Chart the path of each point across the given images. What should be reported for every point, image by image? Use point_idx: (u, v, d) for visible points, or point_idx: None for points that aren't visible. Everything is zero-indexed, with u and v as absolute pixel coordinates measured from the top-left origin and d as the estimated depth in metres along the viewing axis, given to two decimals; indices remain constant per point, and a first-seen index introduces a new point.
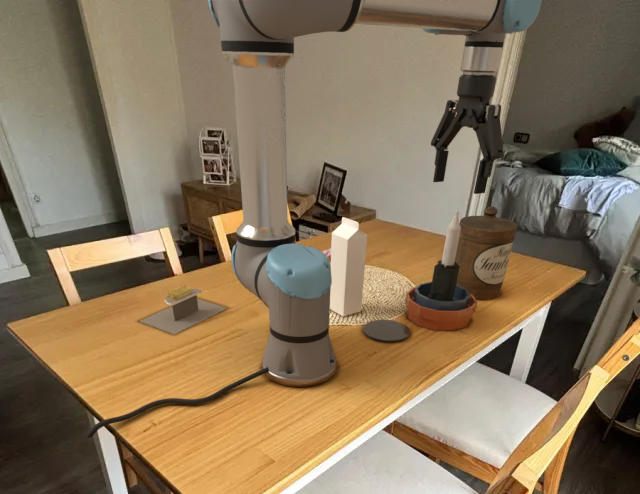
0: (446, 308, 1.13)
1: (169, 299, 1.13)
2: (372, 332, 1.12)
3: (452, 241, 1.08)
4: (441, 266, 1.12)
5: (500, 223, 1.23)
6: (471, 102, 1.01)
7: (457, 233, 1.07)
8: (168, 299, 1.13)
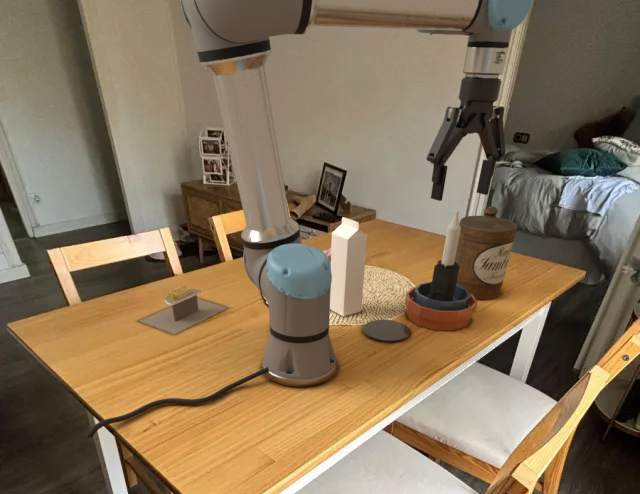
0: (446, 308, 1.13)
1: (169, 299, 1.13)
2: (372, 332, 1.12)
3: (452, 241, 1.08)
4: (441, 266, 1.12)
5: (500, 223, 1.23)
6: None
7: (457, 233, 1.07)
8: (168, 299, 1.13)
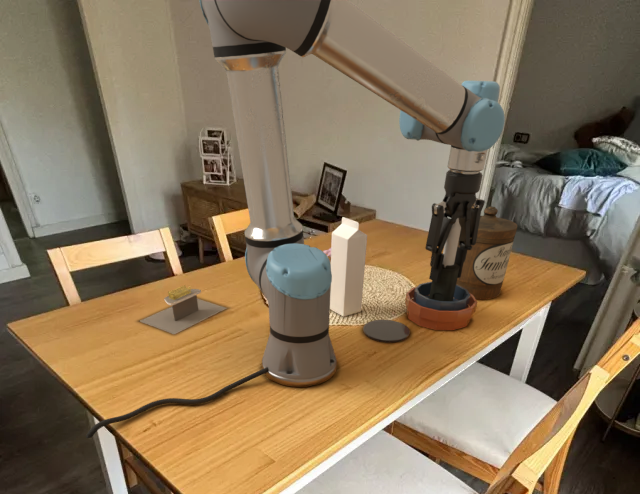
0: (446, 308, 1.13)
1: (169, 299, 1.13)
2: (372, 332, 1.12)
3: (452, 241, 1.08)
4: None
5: (500, 223, 1.23)
6: None
7: (457, 233, 1.07)
8: (168, 299, 1.13)
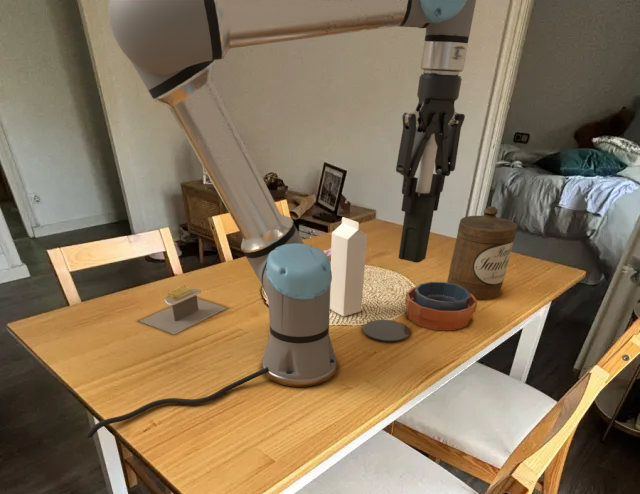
0: (446, 308, 1.13)
1: (169, 299, 1.13)
2: (372, 332, 1.12)
3: (427, 162, 0.93)
4: (415, 194, 0.97)
5: (500, 223, 1.23)
6: None
7: (433, 152, 0.92)
8: (168, 299, 1.13)
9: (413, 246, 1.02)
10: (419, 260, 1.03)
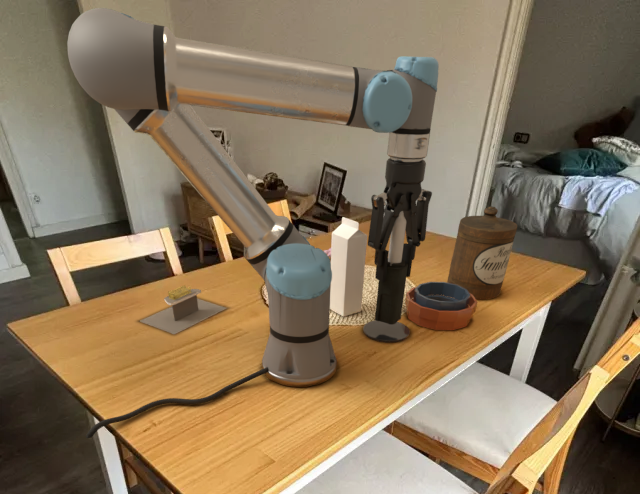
0: (446, 308, 1.13)
1: (169, 299, 1.13)
2: (372, 332, 1.12)
3: (397, 236, 0.99)
4: (387, 264, 1.02)
5: (500, 223, 1.23)
6: None
7: (402, 228, 0.98)
8: (168, 299, 1.13)
9: (388, 310, 1.07)
10: (394, 322, 1.09)
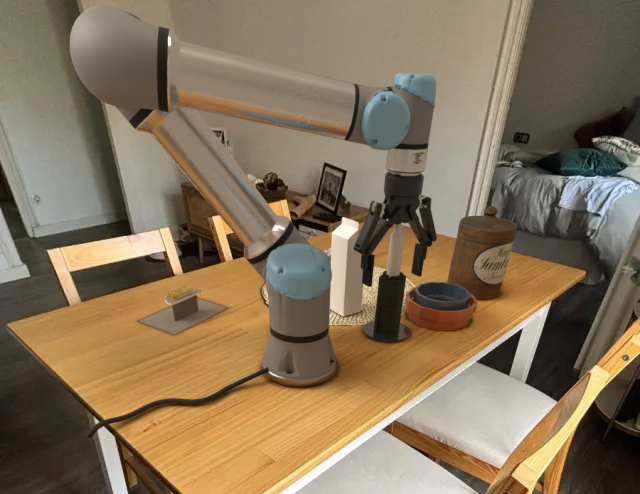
0: (446, 308, 1.13)
1: (169, 299, 1.13)
2: (372, 332, 1.12)
3: (396, 250, 1.00)
4: (385, 277, 1.04)
5: (500, 223, 1.23)
6: None
7: (400, 241, 0.99)
8: (168, 299, 1.13)
9: (386, 321, 1.09)
10: (392, 333, 1.11)
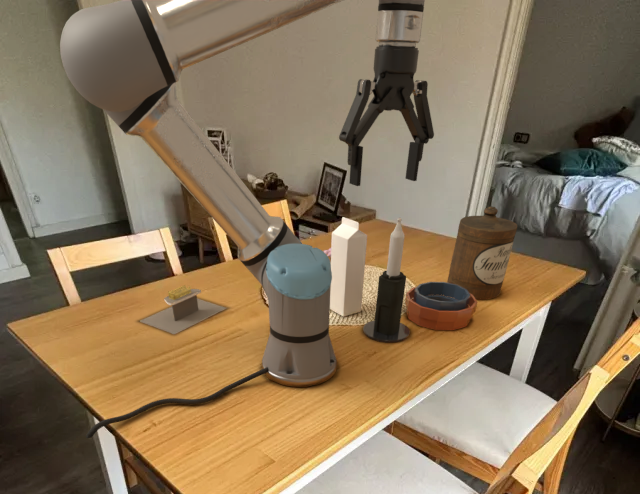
0: (446, 308, 1.13)
1: (169, 299, 1.13)
2: (372, 332, 1.12)
3: (396, 250, 1.00)
4: (385, 277, 1.04)
5: (500, 223, 1.23)
6: None
7: (400, 241, 0.99)
8: (168, 299, 1.13)
9: (386, 321, 1.09)
10: (392, 333, 1.11)
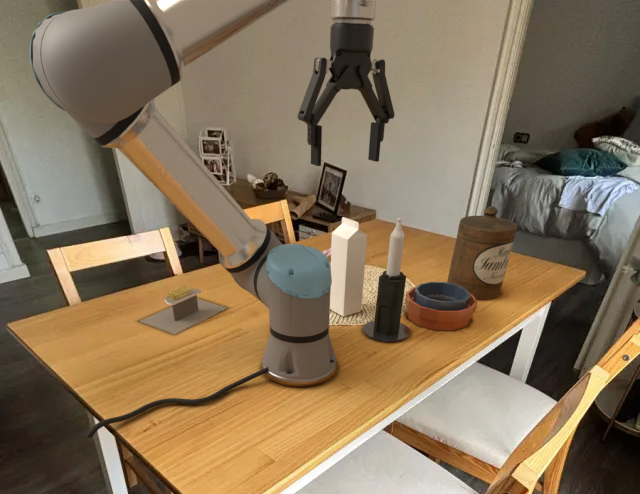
0: (446, 308, 1.13)
1: (169, 299, 1.13)
2: (372, 332, 1.12)
3: (396, 250, 1.00)
4: (385, 277, 1.04)
5: (500, 223, 1.23)
6: None
7: (400, 241, 0.99)
8: (168, 299, 1.13)
9: (386, 321, 1.09)
10: (392, 333, 1.11)
